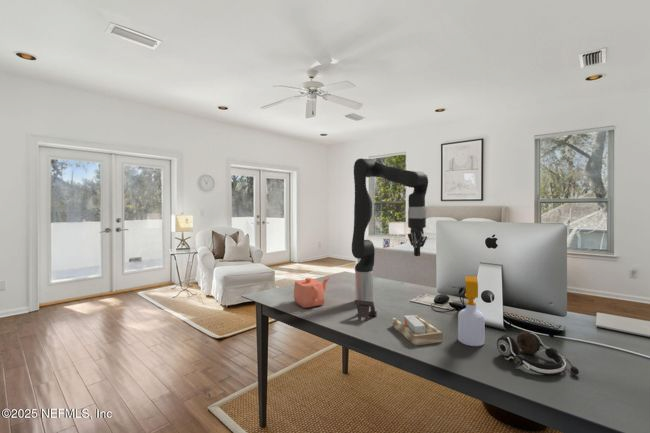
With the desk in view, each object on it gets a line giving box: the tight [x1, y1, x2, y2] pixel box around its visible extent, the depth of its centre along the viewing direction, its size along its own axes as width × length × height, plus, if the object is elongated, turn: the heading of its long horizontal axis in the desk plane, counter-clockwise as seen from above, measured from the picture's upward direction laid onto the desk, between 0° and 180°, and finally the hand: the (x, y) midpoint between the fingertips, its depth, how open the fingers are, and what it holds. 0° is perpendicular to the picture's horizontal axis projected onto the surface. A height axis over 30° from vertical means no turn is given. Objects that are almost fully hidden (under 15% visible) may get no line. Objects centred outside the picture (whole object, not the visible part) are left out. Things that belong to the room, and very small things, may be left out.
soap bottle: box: [457, 275, 486, 347], centre depth 120 cm, size 9×9×25 cm
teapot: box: [293, 277, 331, 309], centre depth 170 cm, size 20×19×14 cm
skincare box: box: [403, 314, 426, 334], centre depth 127 cm, size 6×4×12 cm
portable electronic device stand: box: [354, 299, 378, 322], centre depth 147 cm, size 9×8×8 cm
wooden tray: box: [391, 314, 444, 346], centre depth 128 cm, size 19×11×4 cm, turn 14°
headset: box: [496, 331, 580, 376], centre depth 103 cm, size 17×8×20 cm
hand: (417, 255), depth 141 cm, fingers closed
